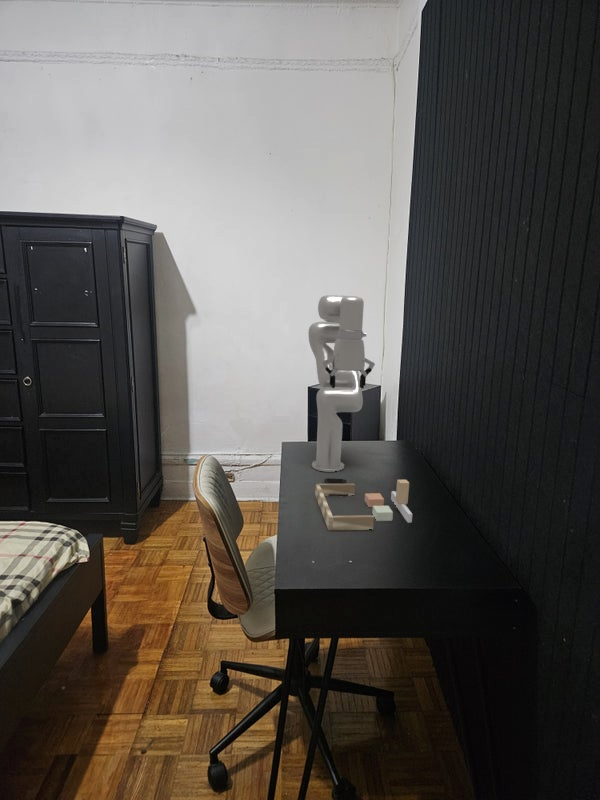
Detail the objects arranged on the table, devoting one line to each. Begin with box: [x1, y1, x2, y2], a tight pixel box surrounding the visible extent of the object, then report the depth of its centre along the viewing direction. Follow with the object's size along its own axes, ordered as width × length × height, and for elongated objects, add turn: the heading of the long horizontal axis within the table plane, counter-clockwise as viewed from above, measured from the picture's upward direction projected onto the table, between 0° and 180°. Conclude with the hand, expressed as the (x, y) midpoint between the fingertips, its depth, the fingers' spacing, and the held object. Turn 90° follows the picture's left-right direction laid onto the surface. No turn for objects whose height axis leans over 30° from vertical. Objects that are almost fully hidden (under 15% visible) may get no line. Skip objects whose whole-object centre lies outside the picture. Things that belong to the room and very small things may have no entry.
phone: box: [323, 478, 349, 498], centre depth 187 cm, size 8×1×15 cm
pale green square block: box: [371, 505, 394, 522], centre depth 165 cm, size 5×5×3 cm
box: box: [314, 483, 375, 531], centre depth 168 cm, size 26×13×4 cm, turn 7°
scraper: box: [390, 479, 413, 524], centre depth 170 cm, size 18×3×10 cm, turn 7°
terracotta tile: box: [364, 492, 385, 508], centre depth 174 cm, size 5×5×3 cm
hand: (347, 387), depth 177 cm, fingers open, 9 cm apart
